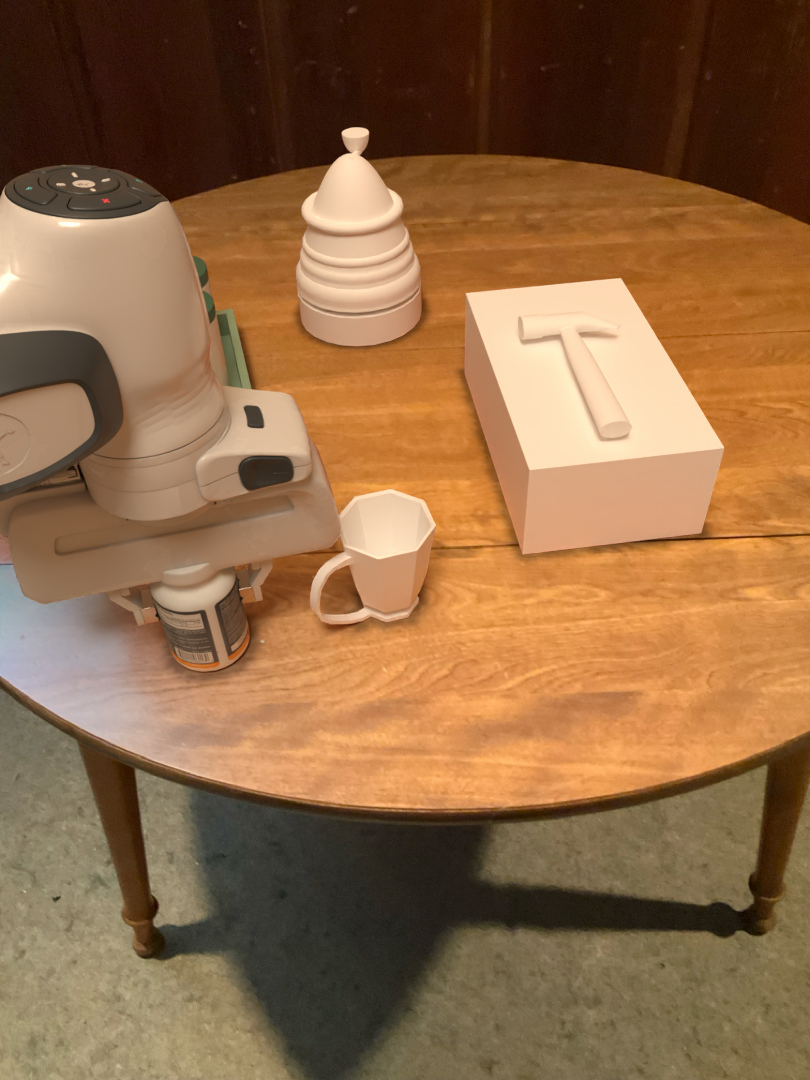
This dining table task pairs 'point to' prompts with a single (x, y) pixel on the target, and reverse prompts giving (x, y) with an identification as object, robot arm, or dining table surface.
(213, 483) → the robot arm
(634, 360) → the hammer embossed box
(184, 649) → the pill bottle
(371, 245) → the honey pot
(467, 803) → the dining table surface
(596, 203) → the dining table surface
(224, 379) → the white bottle
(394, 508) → the cup
